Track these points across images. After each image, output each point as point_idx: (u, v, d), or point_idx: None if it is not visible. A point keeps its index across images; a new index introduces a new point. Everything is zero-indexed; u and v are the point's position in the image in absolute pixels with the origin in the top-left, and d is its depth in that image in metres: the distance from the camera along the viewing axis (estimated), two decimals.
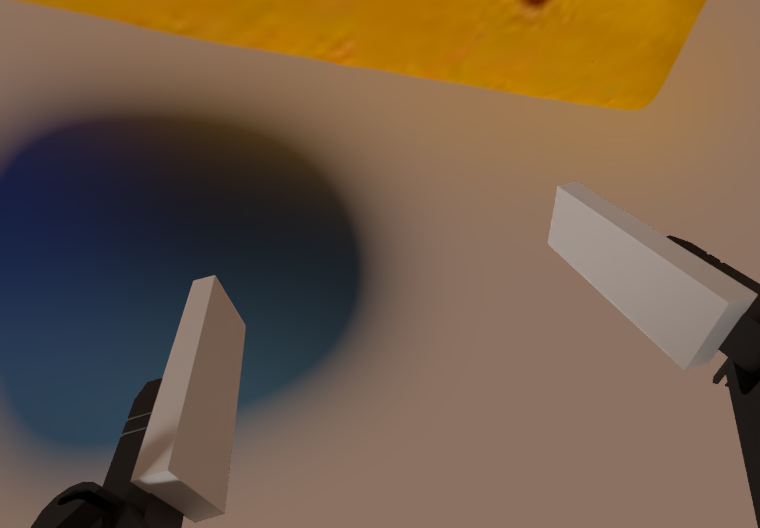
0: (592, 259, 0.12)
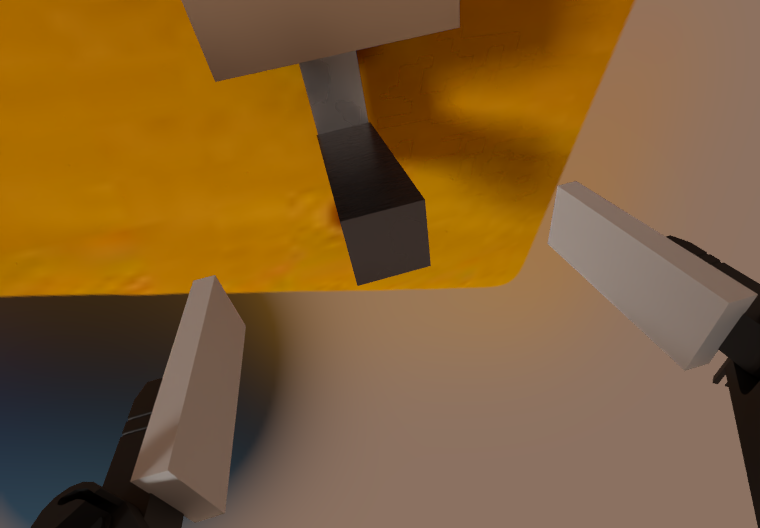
0: (592, 259, 0.12)
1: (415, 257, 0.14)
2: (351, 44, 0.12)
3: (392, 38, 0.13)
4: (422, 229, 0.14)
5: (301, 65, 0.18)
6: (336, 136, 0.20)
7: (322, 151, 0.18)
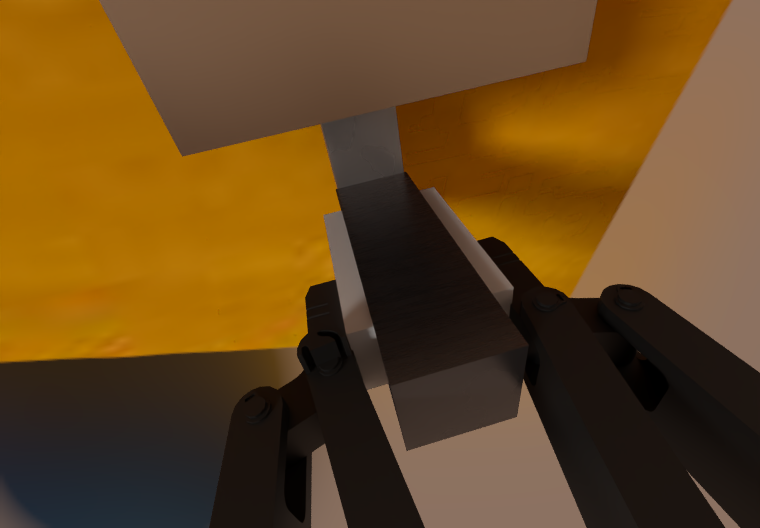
0: None
1: (497, 411, 0.09)
2: (411, 92, 0.07)
3: (477, 81, 0.08)
4: (515, 379, 0.09)
5: None
6: (362, 193, 0.15)
7: (346, 220, 0.13)
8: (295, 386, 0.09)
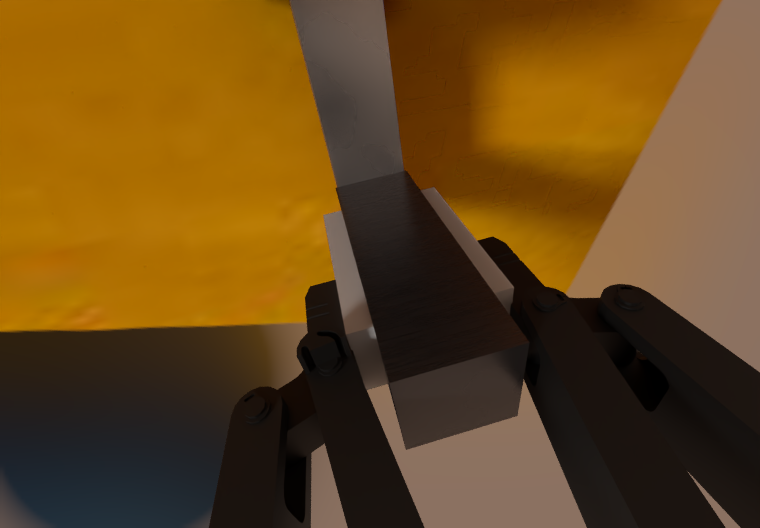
0: None
1: (497, 409, 0.09)
2: None
3: None
4: (516, 378, 0.08)
5: (317, 100, 0.13)
6: (362, 191, 0.15)
7: (345, 218, 0.13)
8: (295, 386, 0.09)
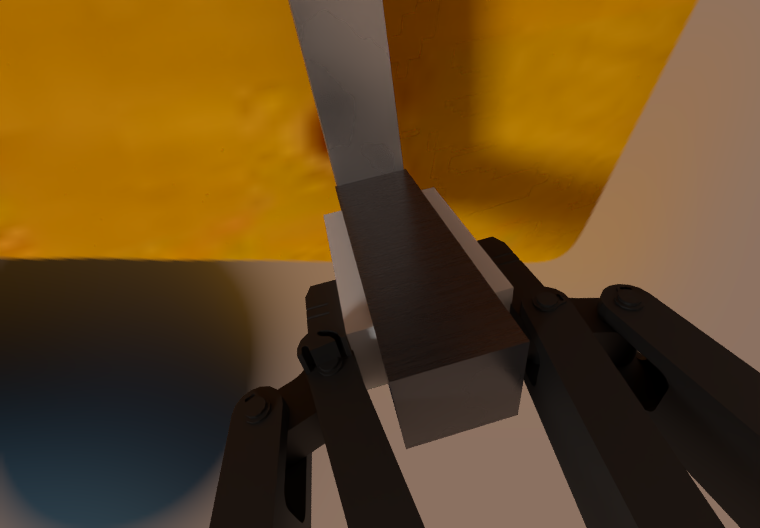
0: None
1: (497, 408, 0.09)
2: None
3: None
4: (516, 377, 0.08)
5: (317, 98, 0.13)
6: (362, 190, 0.15)
7: (345, 217, 0.13)
8: (295, 386, 0.09)
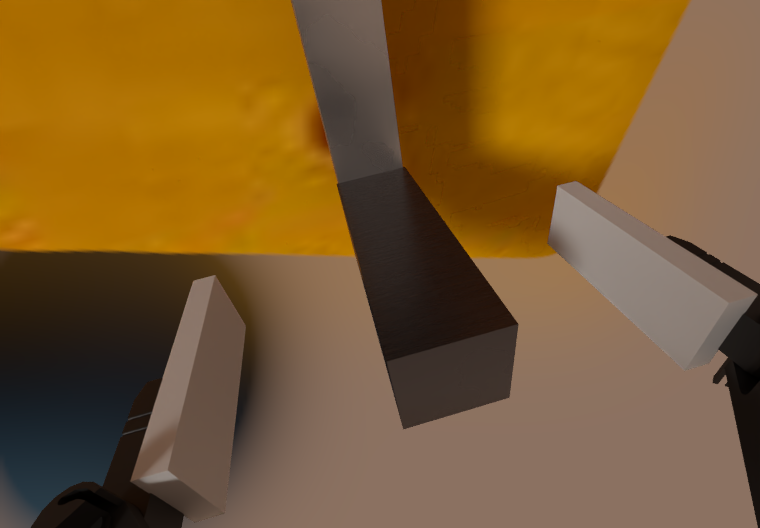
0: (592, 259, 0.12)
1: (490, 391, 0.10)
2: None
3: None
4: (507, 359, 0.09)
5: (319, 99, 0.14)
6: (363, 187, 0.15)
7: (346, 212, 0.14)
8: None
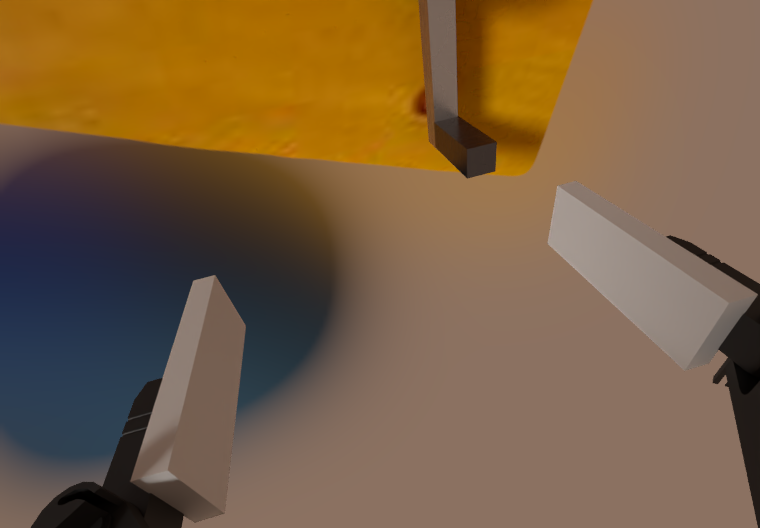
0: (592, 259, 0.12)
1: (490, 166, 0.38)
2: None
3: None
4: (494, 154, 0.37)
5: (433, 91, 0.41)
6: (445, 122, 0.43)
7: (442, 128, 0.41)
8: None
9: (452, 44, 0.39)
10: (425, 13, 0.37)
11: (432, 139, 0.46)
